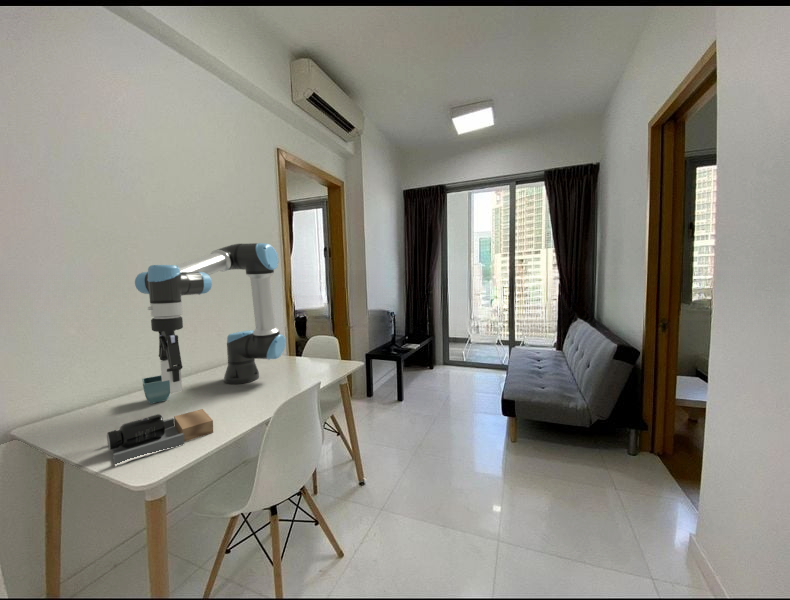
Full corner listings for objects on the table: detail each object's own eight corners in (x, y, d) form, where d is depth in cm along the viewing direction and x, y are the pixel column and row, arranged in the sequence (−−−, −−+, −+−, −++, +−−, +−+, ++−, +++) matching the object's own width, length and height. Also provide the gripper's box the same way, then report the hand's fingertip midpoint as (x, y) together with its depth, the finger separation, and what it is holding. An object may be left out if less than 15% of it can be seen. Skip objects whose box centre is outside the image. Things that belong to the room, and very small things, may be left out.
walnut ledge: (202, 420, 104) (202, 408, 104) (213, 432, 95) (212, 420, 95) (174, 428, 98) (174, 416, 98) (182, 442, 90) (182, 429, 89)
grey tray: (173, 426, 99) (173, 417, 99) (184, 444, 89) (183, 434, 88) (111, 444, 88) (110, 434, 88) (114, 466, 78) (113, 455, 78)
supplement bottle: (160, 408, 92) (106, 423, 83) (166, 427, 89) (112, 445, 80) (156, 422, 95) (104, 437, 86) (163, 440, 92) (109, 459, 83)
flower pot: (144, 407, 114) (142, 384, 114) (143, 400, 121) (142, 378, 120) (172, 401, 120) (171, 379, 119) (170, 394, 127) (169, 373, 126)
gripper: (144, 314, 96) (149, 378, 98) (158, 323, 79) (163, 401, 81) (173, 311, 102) (177, 373, 104) (192, 319, 84) (196, 393, 86)
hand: (171, 385), depth 92 cm, fingers open, 13 cm apart
